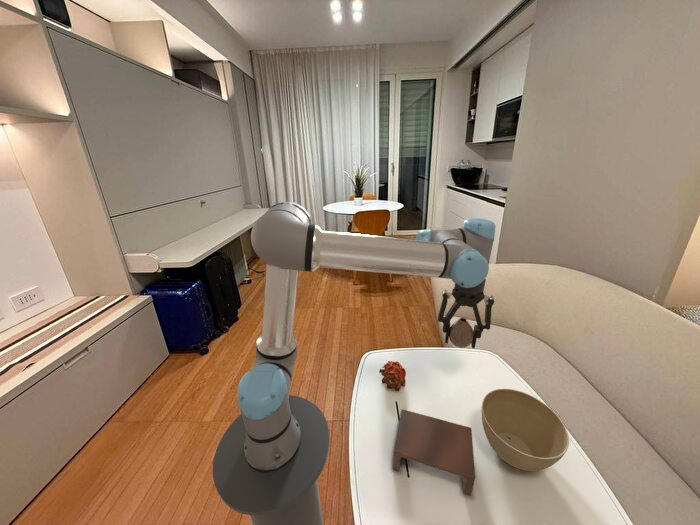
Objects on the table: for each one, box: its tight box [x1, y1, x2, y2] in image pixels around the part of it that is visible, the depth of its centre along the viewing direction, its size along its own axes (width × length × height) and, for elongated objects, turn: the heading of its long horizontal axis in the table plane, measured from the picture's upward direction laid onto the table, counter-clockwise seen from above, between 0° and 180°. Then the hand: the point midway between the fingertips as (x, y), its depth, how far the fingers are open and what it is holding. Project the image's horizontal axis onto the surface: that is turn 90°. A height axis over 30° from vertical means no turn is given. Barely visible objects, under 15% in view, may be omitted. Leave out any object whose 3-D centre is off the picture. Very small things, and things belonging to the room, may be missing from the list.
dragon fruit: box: [378, 360, 407, 392], centre depth 90 cm, size 8×8×12 cm
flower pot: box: [481, 388, 570, 472], centre depth 67 cm, size 18×18×12 cm
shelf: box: [392, 408, 476, 497], centre depth 67 cm, size 18×12×7 cm, turn 71°
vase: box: [448, 317, 474, 349], centre depth 80 cm, size 7×7×9 cm
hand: (459, 342), depth 82 cm, fingers closed on vase, 7 cm apart
